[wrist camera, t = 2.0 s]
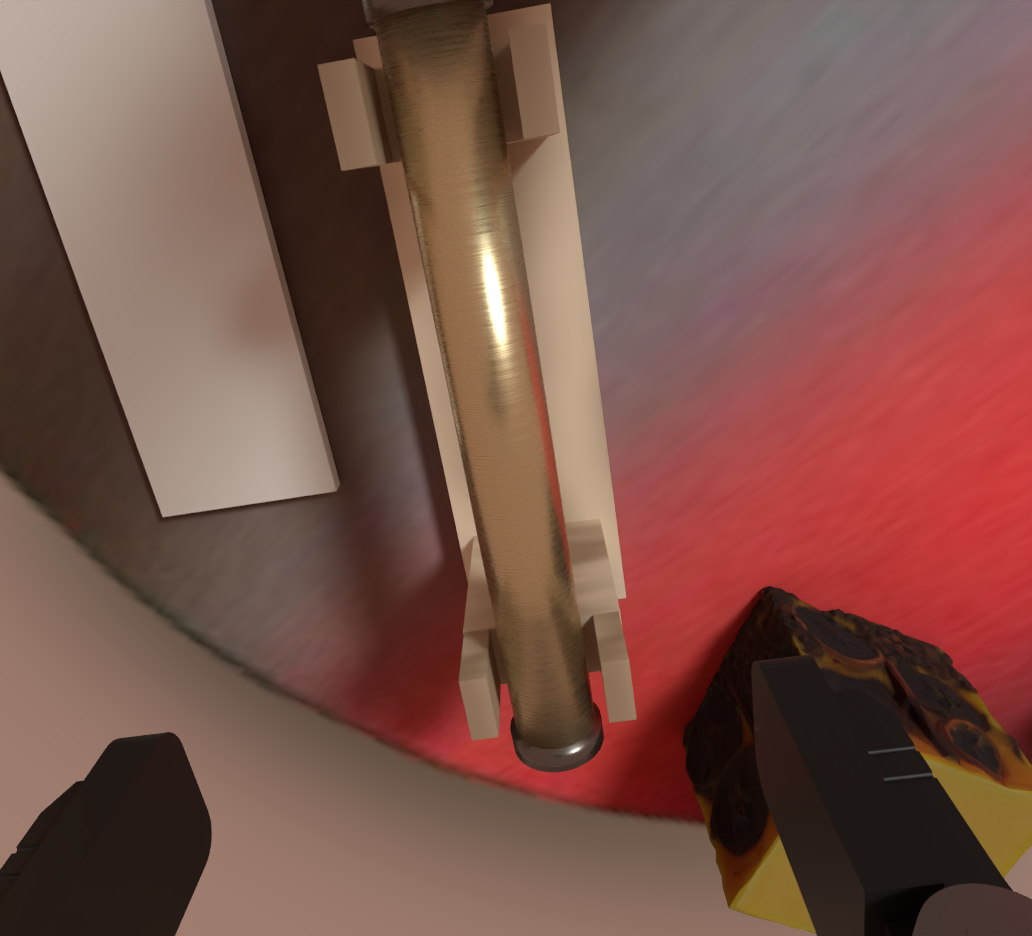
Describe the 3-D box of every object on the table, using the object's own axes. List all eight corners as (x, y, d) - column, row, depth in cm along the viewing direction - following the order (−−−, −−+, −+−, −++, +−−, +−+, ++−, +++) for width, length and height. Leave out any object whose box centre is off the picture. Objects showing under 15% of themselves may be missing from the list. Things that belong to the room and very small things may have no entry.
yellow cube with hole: (765, 579, 38) (845, 720, 28) (948, 644, 39) (1081, 798, 30) (672, 739, 41) (717, 911, 32) (843, 794, 43) (934, 973, 33)
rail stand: (548, 10, 29) (567, -74, 18) (622, 581, 38) (664, 758, 27) (360, 45, 29) (266, -16, 18) (476, 601, 38) (459, 784, 27)
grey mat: (196, -56, 28) (187, -61, 27) (340, 484, 36) (336, 491, 35) (-18, -14, 29) (-32, -18, 28) (170, 509, 36) (162, 517, 36)
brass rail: (370, 1, 21) (346, -23, 18) (490, -22, 21) (485, -50, 18) (514, 714, 30) (513, 777, 27) (599, 703, 30) (608, 765, 27)
